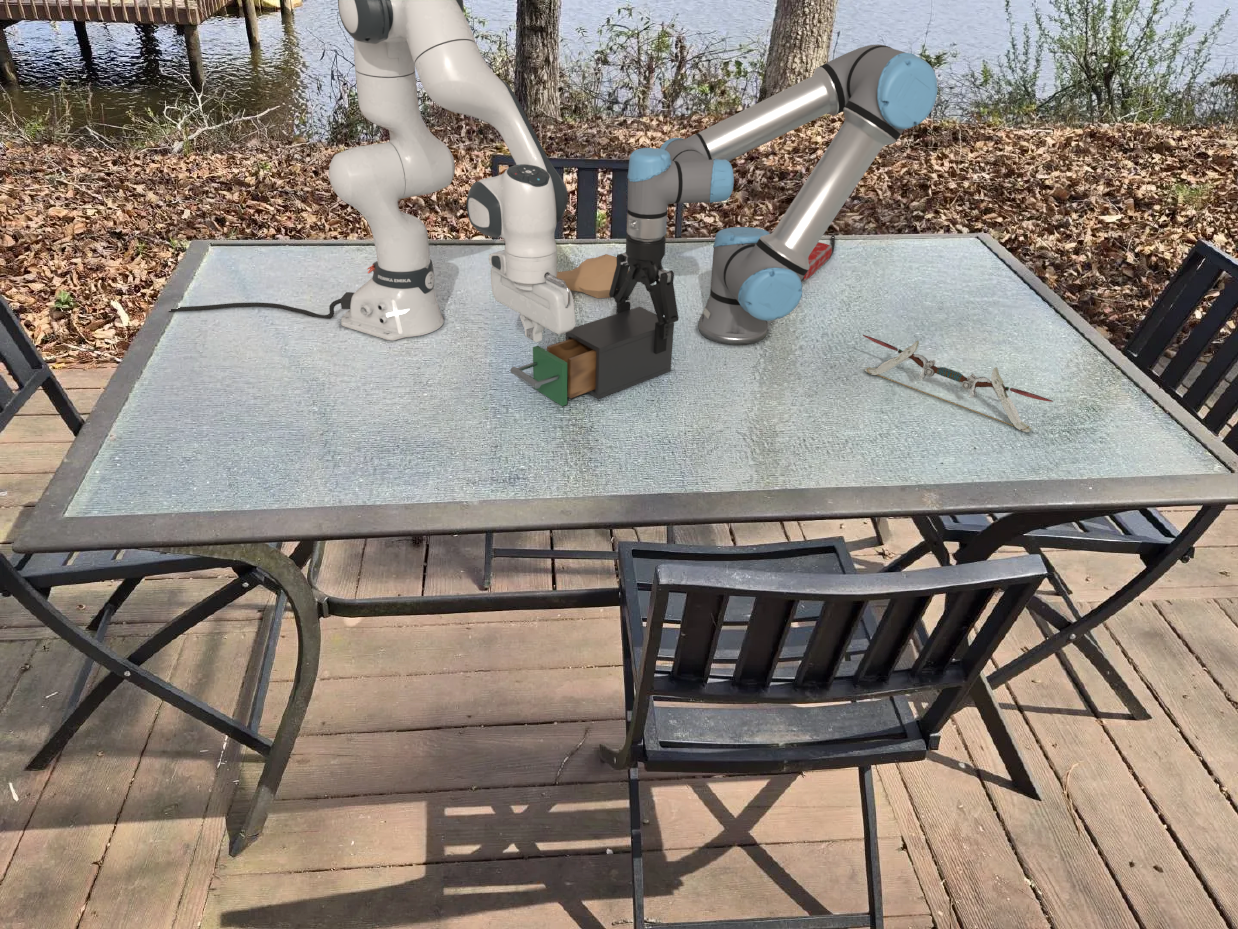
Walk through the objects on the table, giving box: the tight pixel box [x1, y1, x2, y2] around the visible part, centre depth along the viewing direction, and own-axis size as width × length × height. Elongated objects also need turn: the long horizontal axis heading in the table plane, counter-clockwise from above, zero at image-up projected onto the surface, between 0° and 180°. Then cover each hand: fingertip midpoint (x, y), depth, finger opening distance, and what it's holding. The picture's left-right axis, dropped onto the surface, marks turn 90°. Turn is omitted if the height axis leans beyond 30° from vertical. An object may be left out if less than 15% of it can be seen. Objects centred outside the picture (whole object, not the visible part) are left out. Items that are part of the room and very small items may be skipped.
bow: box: [862, 334, 1055, 433], centre depth 169 cm, size 39×2×10 cm, turn 47°
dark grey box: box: [565, 306, 675, 400], centre depth 175 cm, size 19×10×11 cm, turn 131°
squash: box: [556, 253, 630, 299], centre depth 210 cm, size 11×20×9 cm, turn 90°
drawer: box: [510, 338, 597, 407], centre depth 168 cm, size 24×9×9 cm, turn 131°
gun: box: [801, 241, 832, 284], centre depth 227 cm, size 4×31×19 cm
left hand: (533, 338), depth 158 cm, fingers closed
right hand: (641, 342), depth 178 cm, fingers closed on dark grey box, 10 cm apart
